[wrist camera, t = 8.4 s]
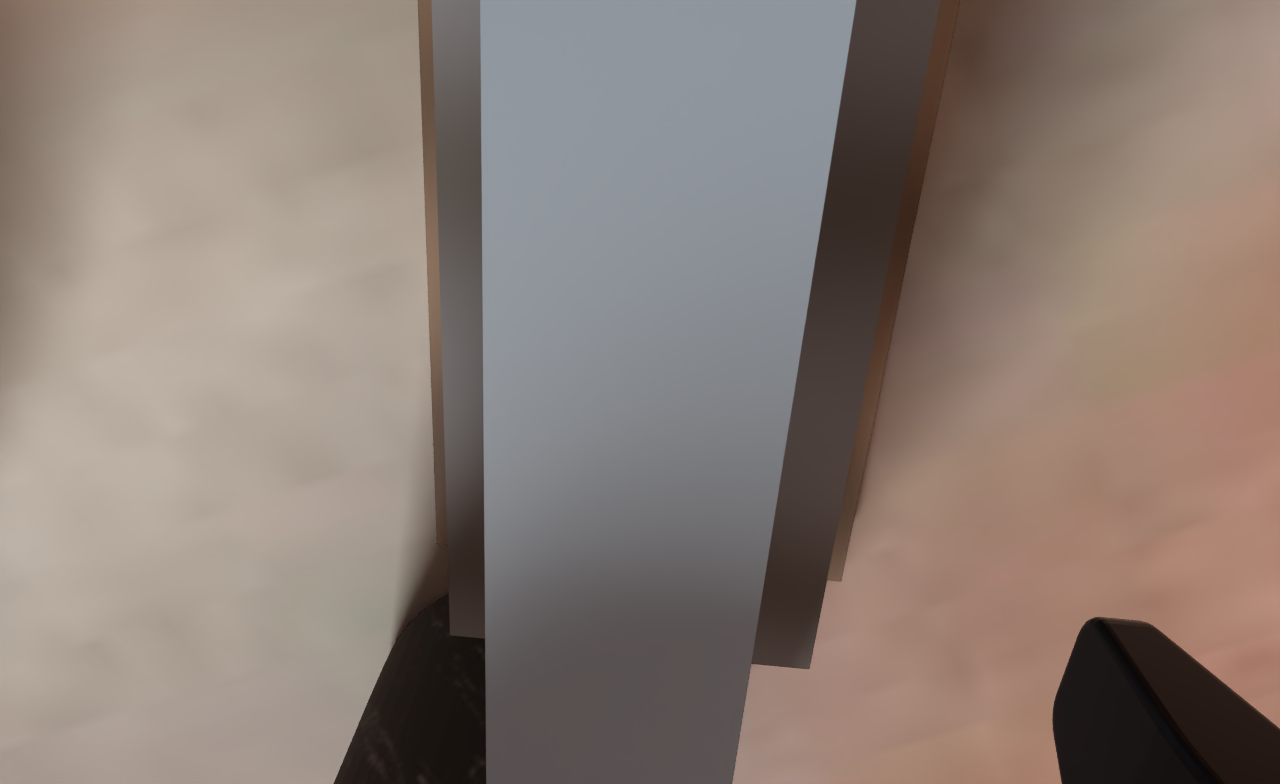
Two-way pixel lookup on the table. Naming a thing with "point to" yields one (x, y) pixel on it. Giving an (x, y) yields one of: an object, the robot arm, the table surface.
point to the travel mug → (424, 710)
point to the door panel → (640, 364)
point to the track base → (834, 328)
